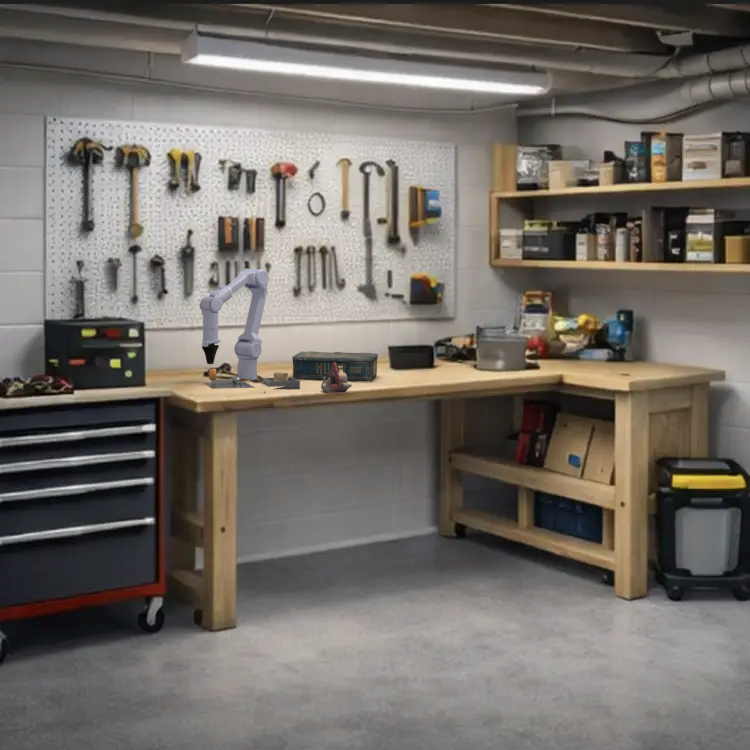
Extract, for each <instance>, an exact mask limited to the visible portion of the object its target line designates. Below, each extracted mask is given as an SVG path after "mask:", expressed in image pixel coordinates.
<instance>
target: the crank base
mask: <svg viewBox="0 0 750 750" xmlns="http://www.w3.org/2000/svg"><path fill="white" fill-rule="evenodd" d="M202 383H203V384H204V385H206V386H207V387H209V388H210V389H213V390H215V389H216V390H217V389H218V390H219V389H251V388H252V389H255V388H256V387H255V386H253V385H251V384H250V383H247V382H246V381H241V383H211V381H209V382H208V381H207V382H206V381H205V382H202Z"/></svg>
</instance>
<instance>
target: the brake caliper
mask: <svg viewBox="0 0 750 750" xmlns="http://www.w3.org/2000/svg"><path fill="white" fill-rule="evenodd" d="M333 373H334V374H333ZM332 375H333V377H332ZM321 381H322V382H321V385H320V388H321V390H322V392H324V393H327V394H333V395H335V394H339V395H341V394H343V395H344V394H352V392H350V391H348V389H350V388H351V387H353V384H352V383H348V381H347V375H346V373H343V366H338V369H337V367H336V363H335V362H333V365H332V367H331V370H330V373H329V378H328V380H326V377H324V378H323V380H321Z"/></svg>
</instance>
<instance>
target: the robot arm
mask: <svg viewBox="0 0 750 750" xmlns="http://www.w3.org/2000/svg"><path fill="white" fill-rule="evenodd" d="M269 279H270V277H269V275H268V273H267V271H266V270H265V269H264V268H260V269H258V268H257V269H256V268H255V269H254V268H244V269H242V270H241V271H239V273H238V275H237V276H236V277H235V278H234V279H233V280H232V281H230V283H228V284H227V285H219V286H218V288H217V289H216V290H215V291H213V292H211V293H210V295H209V296H204V297H203V298H202V299H201V300H200V303H199V306H198V307H199V308H200V311H201V316H202V340H201V342H202V343H201V349H202V350H203V352H204V356H205V360H206V364H207V365H214V362H215V359H216V354H217V351H218V349H219V348H220V345H219V343H222V339H219V312H220V311H221V309H222V307H223V305H224V304H225V303H227V302H228V301H229V300H230V299H231V298H232V297H233V293H235V292H236V291H238V290H239V289H241V288H242V287H243V286H245V287H246V288H247V289H248V290H249V291H250V292H251V294H252V296H251V300H250V305H249V309H248V312H247V318H246V322H245V327H244V331H243V333H242V334H241V335H240V336H238V338H237V342H235V345H234V349H233V350H234V354H235V355H236V356H237V359H238V361H237V367H236V368H237V370H236V371H237V374H236V375H237V376H236V377H241V380H252V381H256V380H255V379H258V359H259V357H260V356H261V354H262V339H261V338H260V337H259V331H260V326H261V323H262V317H263V313H264V309H265V304H266V299H267V295H268V285H269V281H270V280H269Z"/></svg>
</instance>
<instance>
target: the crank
mask: <svg viewBox="0 0 750 750" xmlns="http://www.w3.org/2000/svg"><path fill="white" fill-rule="evenodd" d="M208 372H209V373H208V376H209V377H208V379H209V381H210V382H211V383H241V382H242V379H241V377H237V376H232V377H231V378H222V379H221V378H219V379H218V378H217V368H209V371H208Z"/></svg>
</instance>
